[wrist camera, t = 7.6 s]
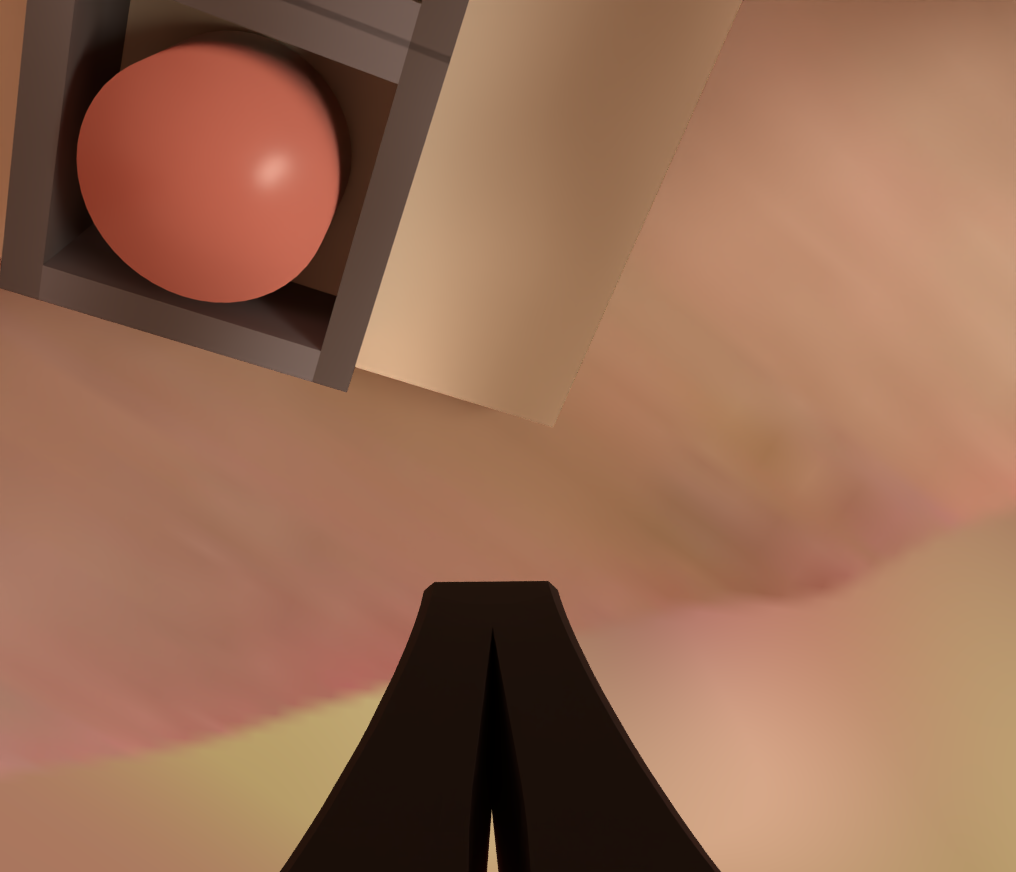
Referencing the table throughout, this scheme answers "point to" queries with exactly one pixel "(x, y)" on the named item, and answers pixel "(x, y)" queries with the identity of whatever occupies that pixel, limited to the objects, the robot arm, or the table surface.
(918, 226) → the table surface
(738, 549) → the table surface
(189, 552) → the table surface
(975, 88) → the table surface
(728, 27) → the button board
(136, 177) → the brick button
